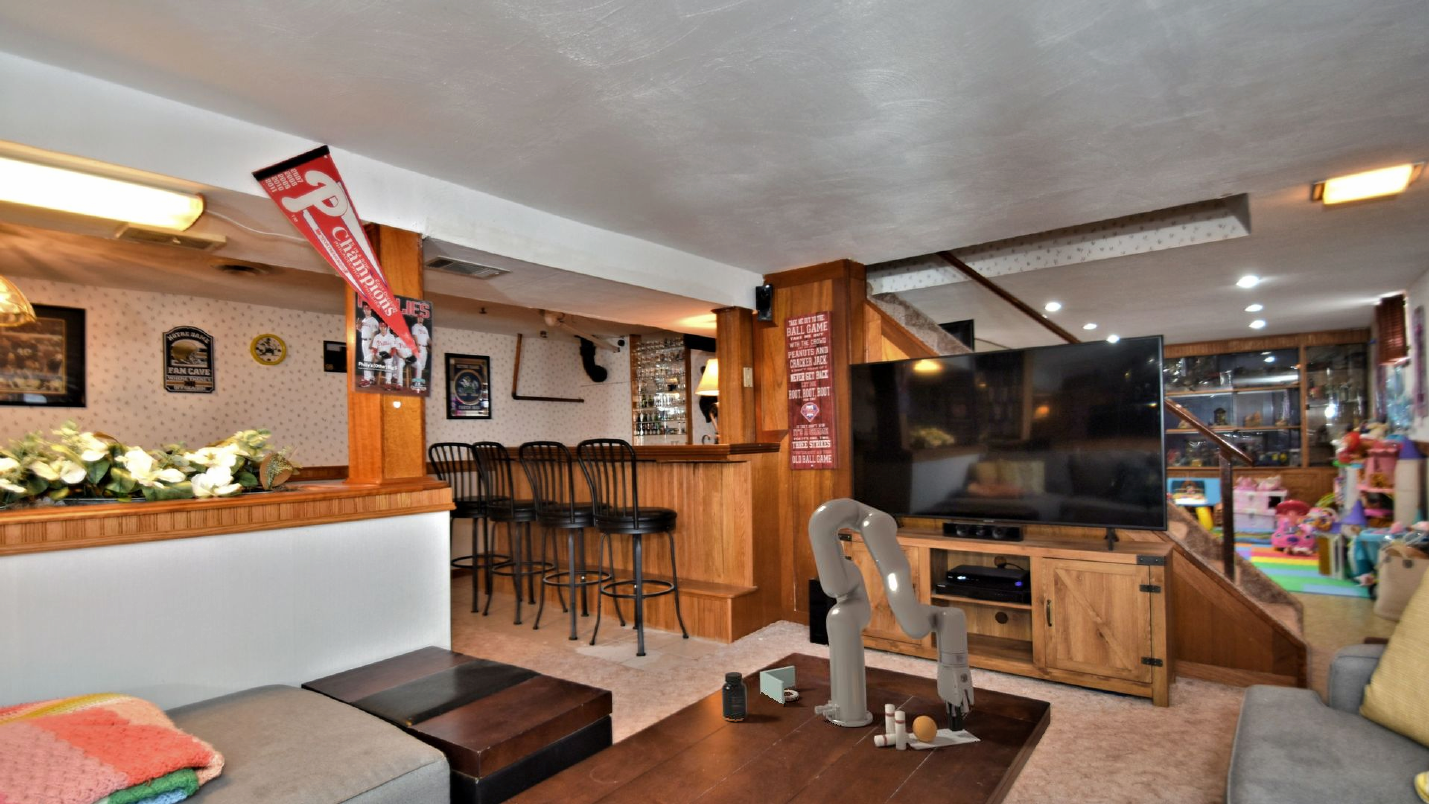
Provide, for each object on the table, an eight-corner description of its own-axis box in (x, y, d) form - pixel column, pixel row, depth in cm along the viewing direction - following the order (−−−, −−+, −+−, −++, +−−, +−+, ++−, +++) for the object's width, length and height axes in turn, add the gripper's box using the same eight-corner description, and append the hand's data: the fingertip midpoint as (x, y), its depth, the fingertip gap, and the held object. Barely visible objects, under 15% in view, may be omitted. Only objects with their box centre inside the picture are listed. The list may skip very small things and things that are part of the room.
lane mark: (916, 749, 174) (916, 748, 174) (898, 735, 183) (898, 734, 183) (980, 740, 179) (980, 739, 179) (959, 727, 187) (959, 726, 187)
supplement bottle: (750, 715, 200) (749, 671, 201) (743, 723, 193) (742, 678, 194) (727, 712, 202) (726, 669, 203) (719, 721, 196) (718, 676, 197)
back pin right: (899, 750, 174) (897, 714, 175) (894, 746, 176) (892, 711, 177) (908, 749, 175) (906, 713, 175) (903, 745, 177) (901, 710, 178)
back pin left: (889, 742, 179) (887, 707, 179) (884, 738, 181) (883, 704, 182) (898, 741, 179) (896, 706, 180) (893, 737, 182) (892, 703, 182)
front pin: (910, 744, 177) (878, 748, 175) (905, 740, 180) (874, 744, 178) (909, 733, 178) (878, 737, 176) (904, 730, 180) (873, 734, 178)
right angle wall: (782, 709, 206) (781, 682, 206) (760, 697, 216) (760, 671, 217) (816, 701, 211) (815, 675, 212) (793, 690, 222) (792, 665, 222)
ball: (931, 714, 177) (946, 732, 178) (918, 707, 183) (933, 725, 183) (916, 732, 176) (931, 750, 176) (903, 725, 181) (918, 742, 182)
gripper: (982, 663, 177) (986, 739, 176) (949, 648, 192) (952, 718, 190) (956, 666, 175) (959, 743, 174) (924, 650, 190) (927, 721, 188)
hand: (955, 729), depth 182 cm, fingers closed
